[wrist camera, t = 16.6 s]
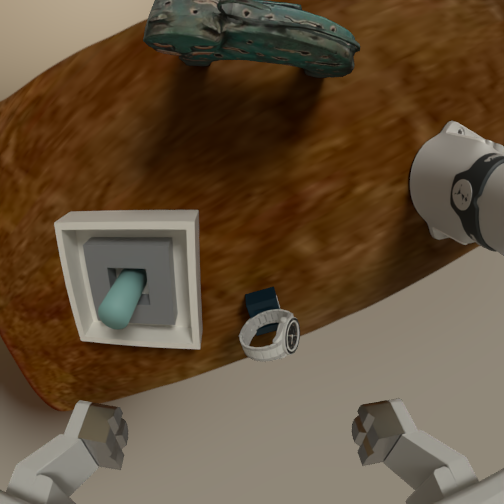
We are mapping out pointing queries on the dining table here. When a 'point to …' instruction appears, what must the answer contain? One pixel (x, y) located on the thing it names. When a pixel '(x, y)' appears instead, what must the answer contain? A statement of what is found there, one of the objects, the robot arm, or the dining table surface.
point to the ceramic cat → (250, 35)
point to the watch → (269, 326)
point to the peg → (122, 298)
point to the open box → (135, 256)
